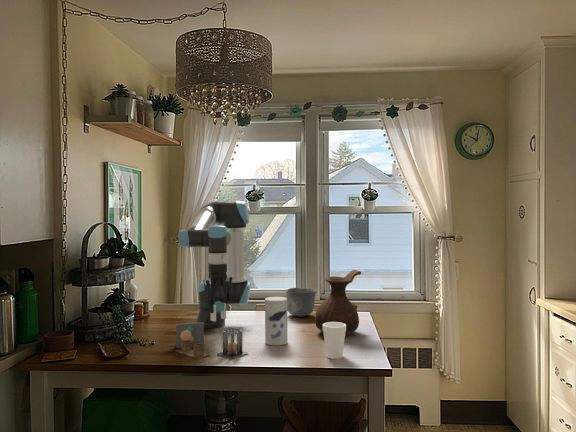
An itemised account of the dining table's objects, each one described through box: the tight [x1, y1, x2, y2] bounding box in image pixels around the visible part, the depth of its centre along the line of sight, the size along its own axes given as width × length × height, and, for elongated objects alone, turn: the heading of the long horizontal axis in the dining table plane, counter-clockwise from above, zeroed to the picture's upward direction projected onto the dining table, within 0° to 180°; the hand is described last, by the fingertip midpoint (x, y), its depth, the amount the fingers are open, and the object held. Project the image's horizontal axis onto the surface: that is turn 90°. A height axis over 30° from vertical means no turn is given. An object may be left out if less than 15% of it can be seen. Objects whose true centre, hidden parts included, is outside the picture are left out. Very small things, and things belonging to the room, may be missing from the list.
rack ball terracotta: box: [180, 330, 191, 341], centre depth 203 cm, size 5×5×5 cm
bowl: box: [285, 287, 317, 318], centre depth 268 cm, size 18×18×15 cm
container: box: [264, 296, 288, 346], centre depth 215 cm, size 10×10×20 cm
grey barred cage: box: [216, 327, 249, 360], centre depth 198 cm, size 9×9×10 cm
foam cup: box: [322, 322, 346, 360], centre depth 195 cm, size 10×9×13 cm
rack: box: [175, 340, 211, 360], centre depth 200 cm, size 16×6×5 cm, turn 47°
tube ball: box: [227, 341, 237, 353], centre depth 198 cm, size 5×5×5 cm
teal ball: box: [214, 301, 224, 312], centre depth 197 cm, size 5×5×5 cm
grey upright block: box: [175, 322, 205, 349], centre depth 212 cm, size 5×12×10 cm, turn 102°
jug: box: [314, 269, 362, 337], centre depth 231 cm, size 22×22×30 cm
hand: (218, 319), depth 197 cm, fingers closed on teal ball, 4 cm apart
